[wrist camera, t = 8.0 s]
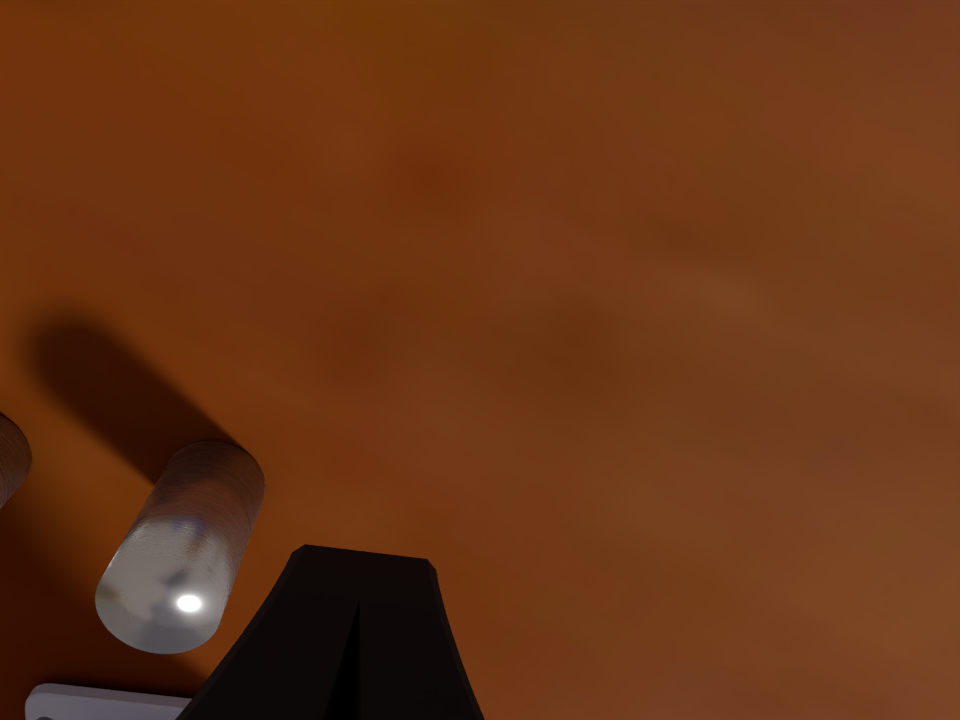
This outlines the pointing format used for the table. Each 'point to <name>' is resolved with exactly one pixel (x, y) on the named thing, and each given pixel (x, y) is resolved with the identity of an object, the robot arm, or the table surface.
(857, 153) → the table surface
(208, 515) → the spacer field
